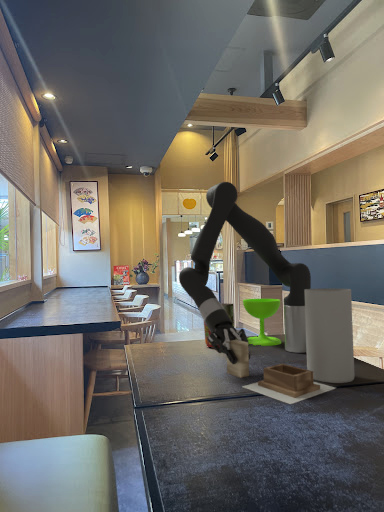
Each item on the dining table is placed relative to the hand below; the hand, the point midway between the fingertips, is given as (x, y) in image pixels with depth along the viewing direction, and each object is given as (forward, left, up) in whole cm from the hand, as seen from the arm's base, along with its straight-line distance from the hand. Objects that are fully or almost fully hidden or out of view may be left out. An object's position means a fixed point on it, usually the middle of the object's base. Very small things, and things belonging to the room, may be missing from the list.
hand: (242, 361), depth 105 cm
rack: (-2, +15, -4) cm, 16 cm away
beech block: (0, -2, -5) cm, 5 cm away
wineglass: (-42, -32, -5) cm, 53 cm away
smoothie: (-20, -38, -5) cm, 43 cm away
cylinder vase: (-19, +16, -5) cm, 25 cm away
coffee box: (-32, -46, -5) cm, 56 cm away
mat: (-2, +15, -5) cm, 16 cm away
